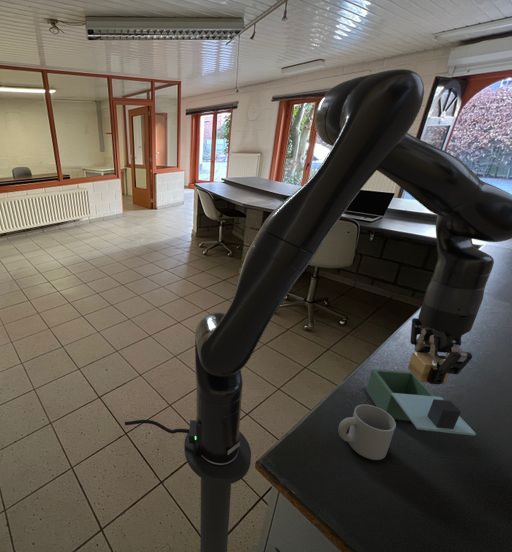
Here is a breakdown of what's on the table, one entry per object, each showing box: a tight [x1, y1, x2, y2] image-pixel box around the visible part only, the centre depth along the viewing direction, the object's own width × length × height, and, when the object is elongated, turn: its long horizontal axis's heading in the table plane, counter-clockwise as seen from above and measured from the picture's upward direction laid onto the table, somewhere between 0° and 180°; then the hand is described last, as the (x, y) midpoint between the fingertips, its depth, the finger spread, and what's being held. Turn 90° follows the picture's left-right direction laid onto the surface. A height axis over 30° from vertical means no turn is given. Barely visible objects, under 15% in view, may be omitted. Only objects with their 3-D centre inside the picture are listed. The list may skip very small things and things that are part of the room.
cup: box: [337, 403, 397, 461], centre depth 66 cm, size 7×10×9 cm
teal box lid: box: [391, 393, 477, 436], centre depth 64 cm, size 10×10×5 cm
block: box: [407, 351, 450, 385], centre depth 62 cm, size 4×4×4 cm
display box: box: [365, 368, 437, 422], centre depth 76 cm, size 10×10×8 cm
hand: (426, 374), depth 63 cm, fingers closed on block, 4 cm apart
